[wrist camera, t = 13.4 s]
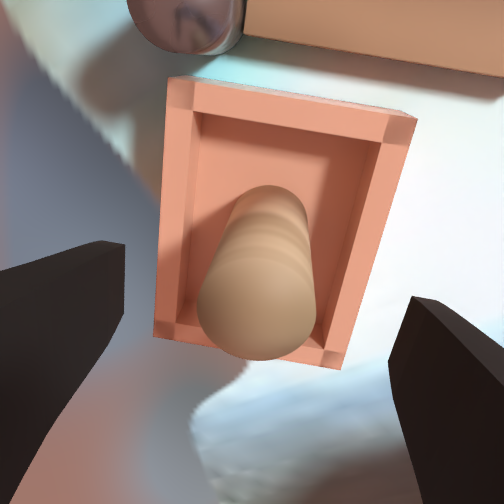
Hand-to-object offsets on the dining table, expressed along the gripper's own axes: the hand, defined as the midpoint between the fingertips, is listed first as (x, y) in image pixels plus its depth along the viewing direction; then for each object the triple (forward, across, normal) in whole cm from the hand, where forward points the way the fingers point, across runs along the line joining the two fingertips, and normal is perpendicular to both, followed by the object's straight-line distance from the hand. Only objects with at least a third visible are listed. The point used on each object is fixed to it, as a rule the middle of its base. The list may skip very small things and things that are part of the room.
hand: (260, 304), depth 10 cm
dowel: (+5, 0, 0) cm, 5 cm away
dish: (+6, 0, 0) cm, 6 cm away
